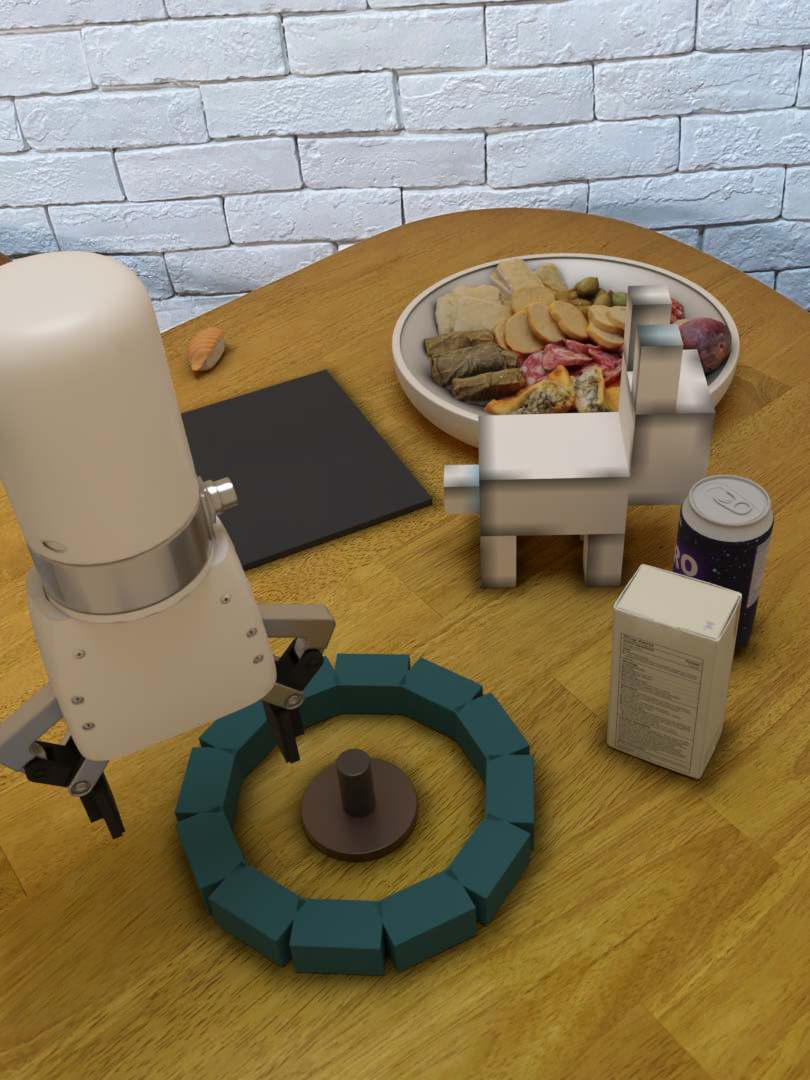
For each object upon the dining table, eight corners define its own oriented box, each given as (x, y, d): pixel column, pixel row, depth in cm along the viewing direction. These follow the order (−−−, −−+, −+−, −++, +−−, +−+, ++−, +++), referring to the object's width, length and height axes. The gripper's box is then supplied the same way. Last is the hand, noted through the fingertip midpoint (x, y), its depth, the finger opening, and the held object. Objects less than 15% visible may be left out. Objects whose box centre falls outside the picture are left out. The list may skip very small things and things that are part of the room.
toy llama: (448, 522, 88) (437, 292, 75) (675, 517, 87) (705, 283, 74) (447, 588, 82) (435, 352, 69) (690, 584, 81) (725, 343, 68)
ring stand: (329, 880, 65) (319, 831, 62) (285, 791, 70) (274, 742, 66) (437, 831, 67) (434, 782, 64) (388, 748, 72) (382, 699, 68)
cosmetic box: (723, 733, 71) (750, 593, 63) (699, 783, 68) (724, 643, 60) (626, 697, 74) (641, 558, 66) (600, 744, 71) (611, 605, 63)
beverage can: (701, 593, 80) (722, 459, 73) (767, 636, 77) (796, 499, 69) (647, 632, 78) (663, 497, 70) (713, 678, 74) (737, 541, 67)
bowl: (348, 453, 96) (339, 374, 90) (449, 284, 117) (446, 212, 112) (709, 508, 87) (722, 425, 82) (748, 315, 108) (760, 239, 103)
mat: (167, 598, 83) (165, 592, 83) (95, 445, 99) (94, 439, 98) (433, 504, 90) (432, 498, 89) (326, 374, 105) (326, 369, 105)
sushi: (232, 345, 110) (227, 318, 108) (209, 381, 106) (204, 353, 104) (207, 343, 111) (201, 316, 109) (183, 378, 106) (177, 351, 104)
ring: (257, 1041, 58) (249, 1015, 56) (146, 755, 72) (137, 727, 71) (601, 874, 64) (604, 846, 62) (436, 641, 78) (434, 613, 77)
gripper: (277, 432, 54) (323, 673, 65) (-93, 557, 49) (25, 794, 60) (339, 520, 49) (377, 765, 60) (-69, 669, 44) (55, 906, 55)
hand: (200, 779), depth 60 cm, fingers open, 9 cm apart
